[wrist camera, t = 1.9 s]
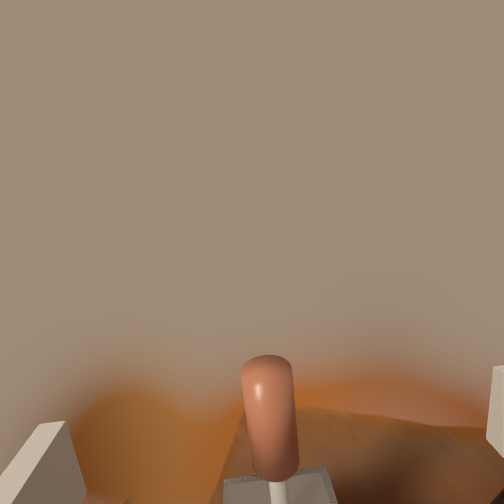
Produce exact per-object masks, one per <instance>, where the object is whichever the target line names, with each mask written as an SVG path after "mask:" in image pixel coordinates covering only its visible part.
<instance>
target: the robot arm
mask: <svg viewBox="0 0 504 504" xmlns="http://www.w3.org/2000/svg"><path fill="white" fill-rule="evenodd" d="M486 439H487V440H488V441H489V443H490V444H491V445H492V446H493V447H494V448H495V449H496V450H497V451H498V452H499V453H500V454H501V456H502V457H503V458H504V365H502V366H494V367H493V377H492V386H491V395H490V406H489V415H488V424H487V434H486ZM86 493H87V490H86V487H85V484H84V480H83V478H82V474H81V471H80V467H79V464H78V461H77V457H76V454H75V451H74V448H73V444H72V441H71V438H70V435H69V432H68V428H67V425H66V421H61V422H52V423H46V424H45V423H44V424H39V425H38V427H37V428H36V429H35V431H34V432H33V434H32V435H31V436H30V437H29V439H28V440H27V441H26V443H25V444H24V445H23V447H22V448H21V450H20V451H19V452H18V454H17V455H16V456H15V458H14V459H13V460H12V462H11V463H10V465H9V466H8V467H7V468H6V470H5V471H4V472H3V474H2V475H1V476H0V504H82V502H83V500H84V498H85V495H86ZM491 504H504V489H503V490H502V491H501V492H500V493H499V494H498V496H497V497H496V498H495V499H494V500H493V501H492V502H491Z"/></svg>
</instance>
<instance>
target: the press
mask: <svg viewBox="0 0 504 504" xmlns="http://www.w3.org/2000/svg"><path fill="white" fill-rule="evenodd" d="M287 488H288V498H289V504H338V503H337V499H336V496H335V493H334V490H333V486H332V483H331V480H330V477H329V474H328V470H327V467H326V466H320V467H313V468H305V469H298V470H297V471H296V473H295V474H294V475H293V476H292V477H291V478H289V479H287ZM223 504H271V496H270V487H269V482H268V481H265V480H263V479H262V478H260V477H259V476H258V475H253V476H246V477H239V478H231V479H224V489H223Z"/></svg>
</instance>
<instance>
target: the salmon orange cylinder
mask: <svg viewBox="0 0 504 504" xmlns="http://www.w3.org/2000/svg"><path fill="white" fill-rule="evenodd" d="M241 380H242V387H243V396H244V403H245V411H246V419H247V426H248V434H249V442H250V450H251V457H252V465H253V469H254V471H255V473H256V474H257V475H258V476H259V477H260V478H262V479H263V480H265V481H268V482H269V487H270V496H271V504H289V498H288V488H287V479H289V478H291V477H292V476H293V475H294V474H295V473H296V471H297V469H298V467H299V450H298V438H297V426H296V413H295V402H294V389H293V377H292V367H291V365H290V363H289V362H288V361H287V360H286V359H284V358H282V357H279V356H274V355H263V356H258V357H255V358H253V359H251V360H249V361H247V362H246V363H245V364H244V365H243V367H242V369H241Z"/></svg>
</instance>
